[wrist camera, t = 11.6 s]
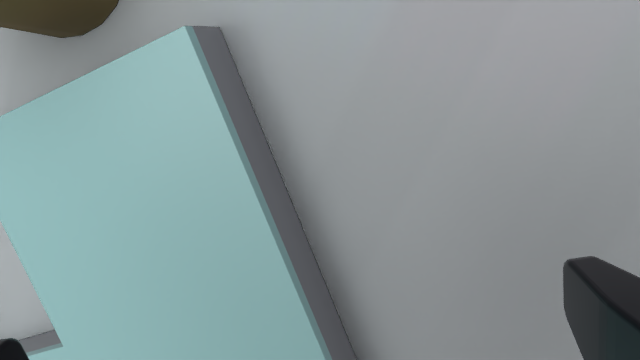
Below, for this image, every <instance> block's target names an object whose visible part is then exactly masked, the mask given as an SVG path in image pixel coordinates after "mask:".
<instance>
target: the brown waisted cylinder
mask: <svg viewBox="0 0 640 360" xmlns="http://www.w3.org/2000/svg"><path fill="white" fill-rule="evenodd" d="M117 3H118V0H0V27H4V28H9V29H15V30H21V31H26V32H32V33H37V34H43V35H48V36H54V37H60V38H65V37H72V36H79V35H84V34H85V33H87V32H89V31H91V30H92V29H94V28H96V27H97V26H99V25H101V24H102V23H103V22H104V21H105V19H106V18H107V17H108V16H109V14H110V13H111V12H112V11H113V9H114V8H115V7H116V6H117Z"/></svg>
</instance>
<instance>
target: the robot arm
mask: <svg viewBox="0 0 640 360" xmlns="http://www.w3.org/2000/svg"><path fill="white" fill-rule="evenodd" d="M563 287H564V309H565V314H566V317H567V320H568V323H569V325H570V327H571V330H572V332H573V335H574V337H575V340H576V342H577V344H578V347H579V349H580V352H581V354H582V357H583V359H584V360H640V278H639V277H637V276H635V275H633V274H631V273H629V272H627V271H624V270H622V269H620V268H618V267H616V266H614V265H612V264H609V263H607V262H605V261H603V260H601V259H599V258H596V257H593V256H588V257H581V258H574V259H568V260H567V261H566V262H565V263H564V267H563ZM0 360H29V358H28V356H27V354H26V352H25V350H24V348H23V347H22V345H21V343H20V342H19V341H18V340H16V339H13V338H8V339H1V340H0Z"/></svg>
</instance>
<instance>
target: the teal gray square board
mask: <svg viewBox="0 0 640 360" xmlns="http://www.w3.org/2000/svg"><path fill="white" fill-rule="evenodd" d="M0 221H1V223H2V225H3V227H4V229H5V231H6V233H7V235H8V237H9V239H10V241H11V243H12V245H13V247H14V249H15V251H16V253H17V255H18V257H19V259H20V261H21V263H22V265H23V267H24V269H25V271H26V273H27V275H28V277H29V279H30V281H31V283H32V285H33V287H34V289H35V291H36V293H37V295H38V297H39V299H40V301H41V303H42V305H43V307H44V309H45V311H46V313H47V315H48V317H49V319H50V321H51V323H52V325H53V327H54V329H55V330H53V331H49V332H46V333H43V334H39V335H36V336H33V337H29V338H26V339H22V340H19V342H20V343H21V345H22V347H23V348H24V350H25V352H26V354H27V356H28V358H29V360H357V359H356V357H355V354H354V352H353V350H352V347H351V345H350V342H349V340H348V337H347V335H346V333H345V330H344V328H343V325H342V323H341V321H340V318H339V316H338V313H337V311H336V308H335V306H334V304H333V301H332V299H331V296H330V294H329V291H328V289H327V287H326V284H325V282H324V279H323V277H322V274H321V272H320V270H319V267H318V265H317V262H316V260H315V258H314V255H313V253H312V250H311V248H310V245H309V243H308V241H307V238H306V236H305V233H304V231H303V228H302V226H301V224H300V221H299V219H298V216H297V214H296V211H295V209H294V207H293V204H292V202H291V199H290V197H289V194H288V192H287V190H286V187H285V185H284V182H283V180H282V178H281V175H280V173H279V170H278V168H277V165H276V163H275V161H274V158H273V156H272V153H271V151H270V148H269V146H268V144H267V141H266V139H265V136H264V134H263V131H262V129H261V127H260V124H259V122H258V119H257V117H256V115H255V112H254V110H253V107H252V105H251V102H250V100H249V98H248V95H247V93H246V90H245V88H244V85H243V83H242V81H241V78H240V76H239V73H238V71H237V68H236V66H235V64H234V61H233V59H232V56H231V54H230V51H229V49H228V47H227V44H226V42H225V39H224V37H223V35H222V32H221V30H220V27H206V26H183V27H181V28H179V29H177V30H175V31H173V32H171V33H169V34H167V35H165V36H163V37H161V38H159V39H157V40H155V41H153V42H151V43H149V44H147V45H145V46H143V47H141V48H138V49H136V50H134V51H132V52H130V53H128V54H126V55H124V56H122V57H120V58H118V59H116V60H114V61H112V62H110V63H108V64H106V65H104V66H102V67H100V68H98V69H96V70H94V71H92V72H90V73H88V74H86V75H84V76H82V77H79V78H77V79H75V80H73V81H71V82H69V83H67V84H65V85H63V86H61V87H59V88H57V89H55V90H53V91H51V92H49V93H47V94H45V95H43V96H41V97H39V98H37V99H35V100H33V101H31V102H29V103H27V104H25V105H22V106H20V107H18V108H16V109H14V110H12V111H10V112H8V113H6V114H4V115H2V116H0Z"/></svg>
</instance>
